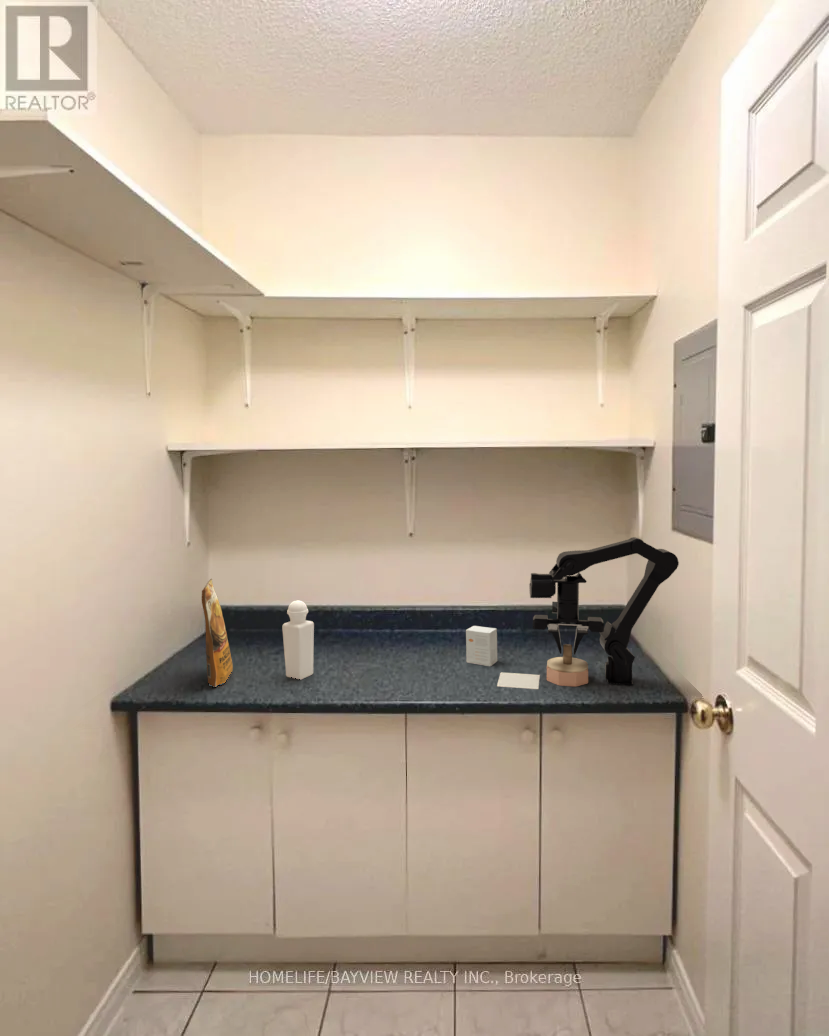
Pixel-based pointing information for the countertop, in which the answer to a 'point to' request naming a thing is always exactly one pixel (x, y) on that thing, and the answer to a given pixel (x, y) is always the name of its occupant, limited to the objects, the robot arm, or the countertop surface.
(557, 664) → the lid
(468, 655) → the small box
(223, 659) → the pancake mix bag
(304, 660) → the white square bottle
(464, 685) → the countertop surface
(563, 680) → the bowl
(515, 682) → the mat
